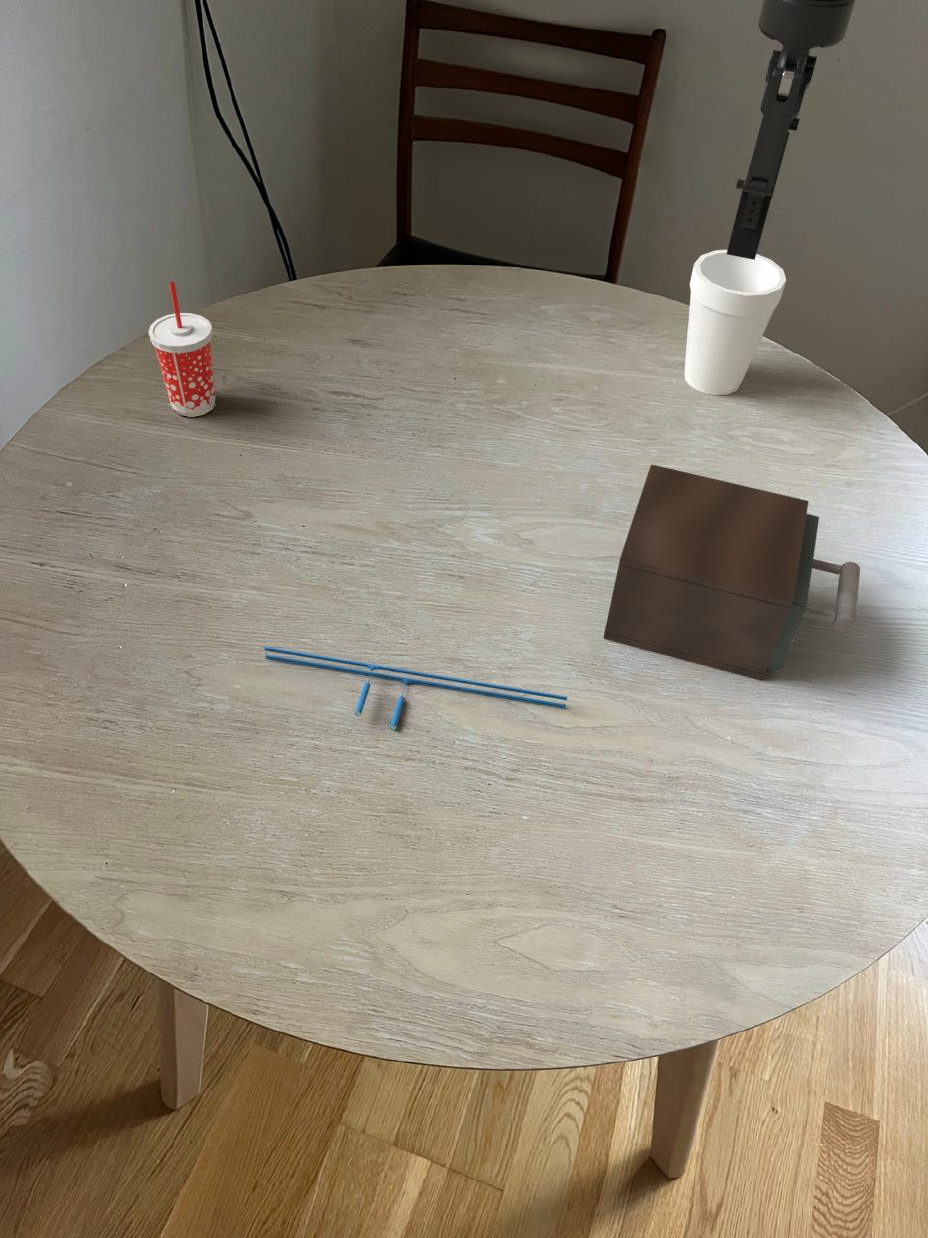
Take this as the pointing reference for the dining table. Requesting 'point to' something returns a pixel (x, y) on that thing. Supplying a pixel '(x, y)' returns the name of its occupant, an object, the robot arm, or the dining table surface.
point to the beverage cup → (185, 358)
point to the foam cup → (728, 318)
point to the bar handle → (410, 681)
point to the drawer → (845, 593)
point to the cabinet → (707, 571)
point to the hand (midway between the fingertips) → (750, 224)
